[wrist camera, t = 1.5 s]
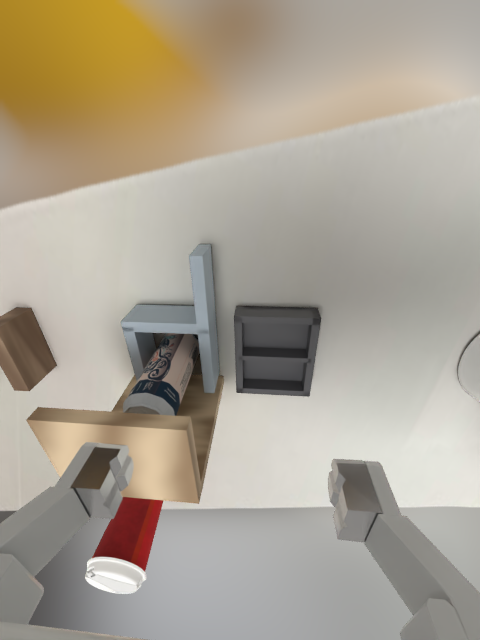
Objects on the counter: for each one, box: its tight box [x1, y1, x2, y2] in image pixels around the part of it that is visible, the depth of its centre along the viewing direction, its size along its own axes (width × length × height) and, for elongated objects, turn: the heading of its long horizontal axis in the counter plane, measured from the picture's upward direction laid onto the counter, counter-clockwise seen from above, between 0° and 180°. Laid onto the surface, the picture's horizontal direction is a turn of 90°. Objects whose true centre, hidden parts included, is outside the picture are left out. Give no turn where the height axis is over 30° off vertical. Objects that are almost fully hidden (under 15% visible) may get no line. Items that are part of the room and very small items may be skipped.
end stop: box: [0, 308, 57, 391], centre depth 34 cm, size 2×9×5 cm, turn 1°
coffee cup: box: [85, 497, 163, 594], centre depth 43 cm, size 8×8×15 cm
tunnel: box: [27, 375, 224, 504], centre depth 28 cm, size 12×10×15 cm
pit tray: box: [234, 306, 321, 396], centre depth 32 cm, size 9×11×2 cm
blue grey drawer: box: [121, 244, 220, 393], centre depth 30 cm, size 9×16×4 cm, turn 1°
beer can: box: [123, 333, 200, 416], centre depth 29 cm, size 5×5×12 cm
